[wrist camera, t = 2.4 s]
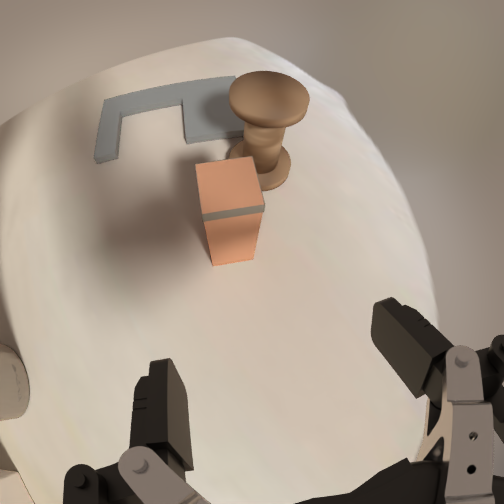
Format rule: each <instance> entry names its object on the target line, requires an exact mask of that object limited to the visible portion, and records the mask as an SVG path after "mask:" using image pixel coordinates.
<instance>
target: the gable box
mask: <svg viewBox="0 0 504 504" xmlns="http://www.w3.org/2000/svg"><path fill="white" fill-rule="evenodd" d="M0 504H34V502H33V500H32V498H31V497H30V495H29V493H28V491H27V489H26V487H25V485H24V483H23V481H22V479H21V477H20V475H19V473H18V472H16V471H8V470H0Z"/></svg>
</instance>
